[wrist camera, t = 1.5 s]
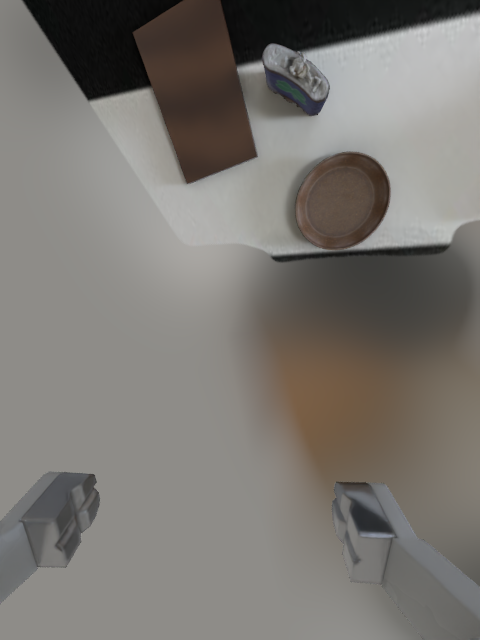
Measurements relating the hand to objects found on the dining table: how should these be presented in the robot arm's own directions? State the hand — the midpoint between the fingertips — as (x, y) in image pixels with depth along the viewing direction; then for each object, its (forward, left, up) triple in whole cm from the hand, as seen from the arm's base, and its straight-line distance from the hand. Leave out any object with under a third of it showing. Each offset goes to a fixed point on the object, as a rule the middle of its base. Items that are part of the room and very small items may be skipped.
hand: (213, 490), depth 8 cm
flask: (-19, +8, -46) cm, 50 cm away
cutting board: (-23, -6, -46) cm, 51 cm away
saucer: (-2, +12, -46) cm, 47 cm away
